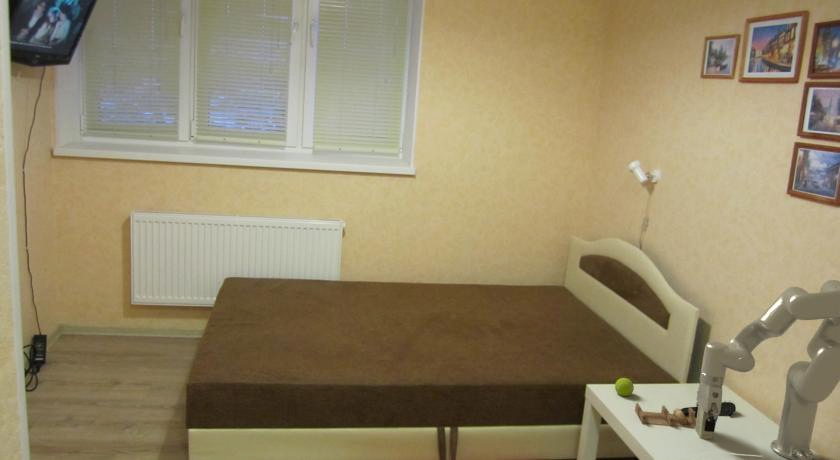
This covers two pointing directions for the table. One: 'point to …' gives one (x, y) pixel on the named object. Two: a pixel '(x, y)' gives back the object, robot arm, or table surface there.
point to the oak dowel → (680, 417)
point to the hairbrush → (726, 408)
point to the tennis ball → (624, 387)
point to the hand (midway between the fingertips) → (704, 424)
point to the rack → (664, 418)
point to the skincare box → (702, 424)
